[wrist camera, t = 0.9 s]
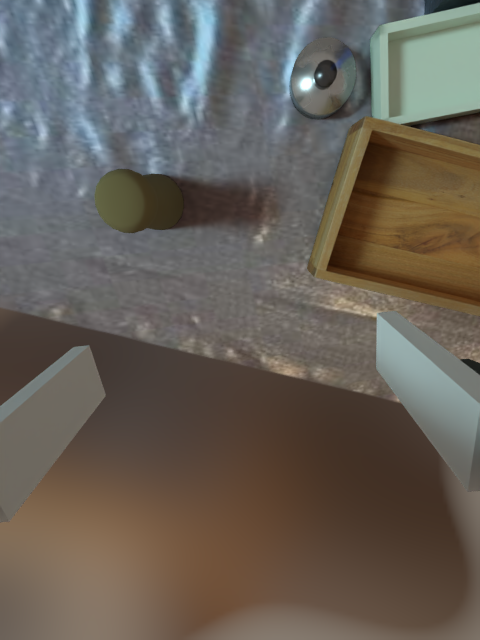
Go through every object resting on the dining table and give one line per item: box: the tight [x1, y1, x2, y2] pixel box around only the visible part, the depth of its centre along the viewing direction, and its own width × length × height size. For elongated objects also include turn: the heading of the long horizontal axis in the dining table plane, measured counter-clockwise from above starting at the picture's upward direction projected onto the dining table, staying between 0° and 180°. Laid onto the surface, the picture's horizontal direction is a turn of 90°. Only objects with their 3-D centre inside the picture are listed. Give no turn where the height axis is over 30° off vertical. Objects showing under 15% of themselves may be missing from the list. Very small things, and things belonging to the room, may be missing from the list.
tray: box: [307, 116, 480, 316], centre depth 34 cm, size 31×15×6 cm, turn 77°
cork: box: [95, 169, 184, 233], centre depth 31 cm, size 6×6×11 cm
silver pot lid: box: [289, 38, 356, 119], centre depth 30 cm, size 6×6×3 cm
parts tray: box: [370, 3, 480, 126], centre depth 29 cm, size 8×18×2 cm, turn 100°
